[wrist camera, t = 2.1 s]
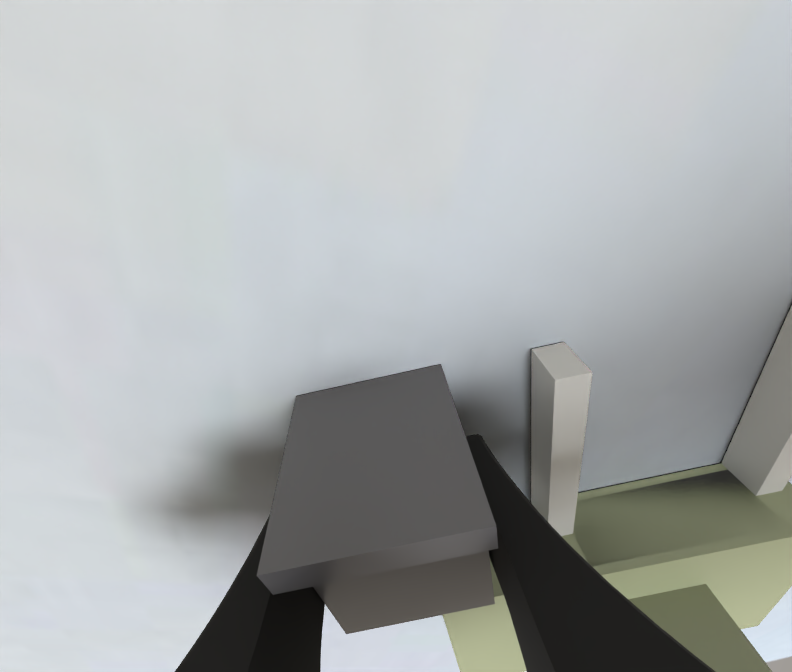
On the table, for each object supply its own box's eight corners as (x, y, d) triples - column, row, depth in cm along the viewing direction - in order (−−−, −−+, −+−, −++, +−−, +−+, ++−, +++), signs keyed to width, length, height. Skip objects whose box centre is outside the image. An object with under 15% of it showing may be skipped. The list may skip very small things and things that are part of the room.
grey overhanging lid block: (440, 364, 11) (496, 525, 6) (461, 485, 14) (507, 647, 10) (296, 396, 11) (256, 575, 7) (349, 508, 14) (345, 679, 10)
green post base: (849, 279, 10) (1322, 431, 5) (704, 558, 19) (830, 717, 14) (386, 380, 11) (411, 615, 6) (450, 609, 19) (482, 783, 14)
